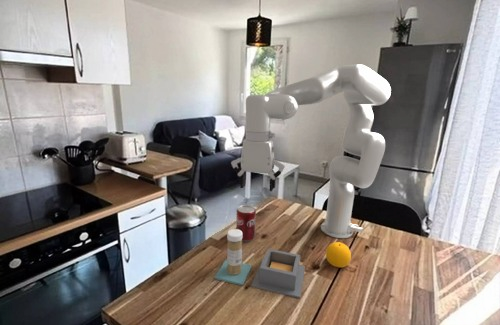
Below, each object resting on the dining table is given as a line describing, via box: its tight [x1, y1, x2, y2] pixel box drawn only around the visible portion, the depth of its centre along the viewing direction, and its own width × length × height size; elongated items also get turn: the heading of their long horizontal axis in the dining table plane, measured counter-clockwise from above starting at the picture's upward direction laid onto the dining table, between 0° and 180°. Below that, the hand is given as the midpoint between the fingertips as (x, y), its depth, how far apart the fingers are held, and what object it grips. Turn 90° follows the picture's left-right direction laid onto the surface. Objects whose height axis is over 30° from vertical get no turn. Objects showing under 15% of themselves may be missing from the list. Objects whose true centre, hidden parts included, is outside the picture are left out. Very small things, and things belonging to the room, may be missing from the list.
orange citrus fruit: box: [325, 241, 352, 268], centre depth 88 cm, size 8×8×8 cm
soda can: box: [235, 204, 257, 243], centre depth 102 cm, size 7×7×12 cm
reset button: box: [270, 262, 293, 272], centre depth 81 cm, size 7×7×2 cm
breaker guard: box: [251, 248, 306, 299], centre depth 81 cm, size 14×14×6 cm
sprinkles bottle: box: [226, 228, 243, 275], centre depth 81 cm, size 5×5×14 cm
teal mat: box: [214, 259, 253, 286], centre depth 83 cm, size 9×9×1 cm
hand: (257, 188), depth 87 cm, fingers open, 9 cm apart
